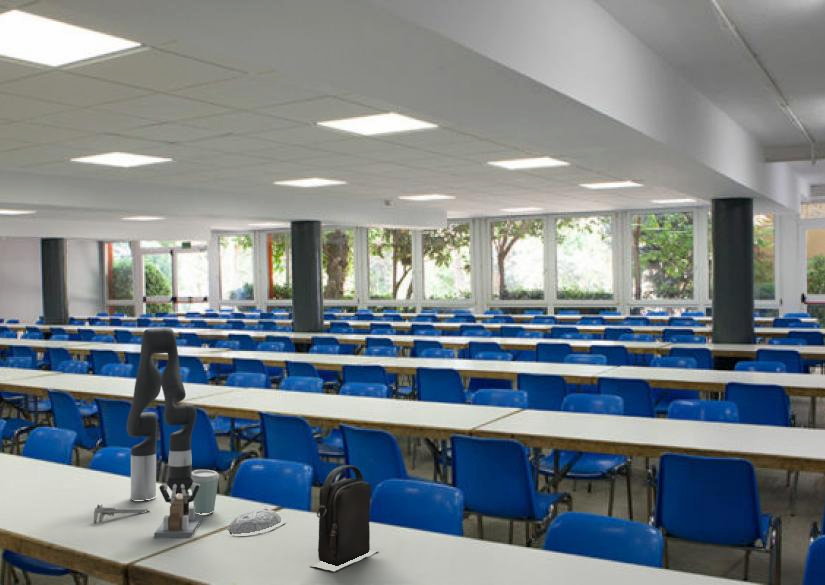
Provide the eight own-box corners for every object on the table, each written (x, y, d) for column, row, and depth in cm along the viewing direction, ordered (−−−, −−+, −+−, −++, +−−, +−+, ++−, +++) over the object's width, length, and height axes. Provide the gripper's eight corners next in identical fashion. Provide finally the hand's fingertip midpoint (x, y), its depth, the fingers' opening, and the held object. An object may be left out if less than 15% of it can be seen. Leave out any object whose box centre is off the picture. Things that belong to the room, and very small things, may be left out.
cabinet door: (180, 514, 272) (180, 491, 272) (193, 514, 273) (193, 491, 272) (169, 531, 257) (169, 507, 256) (183, 530, 257) (183, 506, 256)
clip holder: (168, 520, 274) (168, 504, 274) (203, 519, 275) (203, 503, 275) (154, 537, 254) (154, 520, 254) (191, 536, 255) (191, 520, 255)
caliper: (94, 523, 270) (95, 505, 270) (93, 523, 271) (93, 505, 271) (150, 512, 285) (150, 495, 285) (149, 511, 286) (149, 494, 286)
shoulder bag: (356, 546, 247) (357, 457, 247) (380, 552, 242) (380, 461, 242) (309, 567, 228) (309, 470, 228) (333, 573, 223) (334, 474, 223)
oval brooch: (211, 531, 260) (214, 511, 260) (263, 517, 281) (265, 499, 281) (245, 544, 252) (248, 524, 252) (296, 529, 273) (298, 510, 273)
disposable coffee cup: (223, 509, 288) (223, 468, 288) (213, 517, 277) (213, 475, 277) (195, 508, 289) (195, 468, 289) (184, 516, 278) (184, 474, 278)
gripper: (203, 460, 269) (202, 510, 269) (161, 461, 268) (161, 511, 268) (199, 465, 262) (198, 517, 262) (156, 465, 261) (155, 517, 261)
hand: (179, 514), depth 265 cm, fingers closed on cabinet door, 3 cm apart
